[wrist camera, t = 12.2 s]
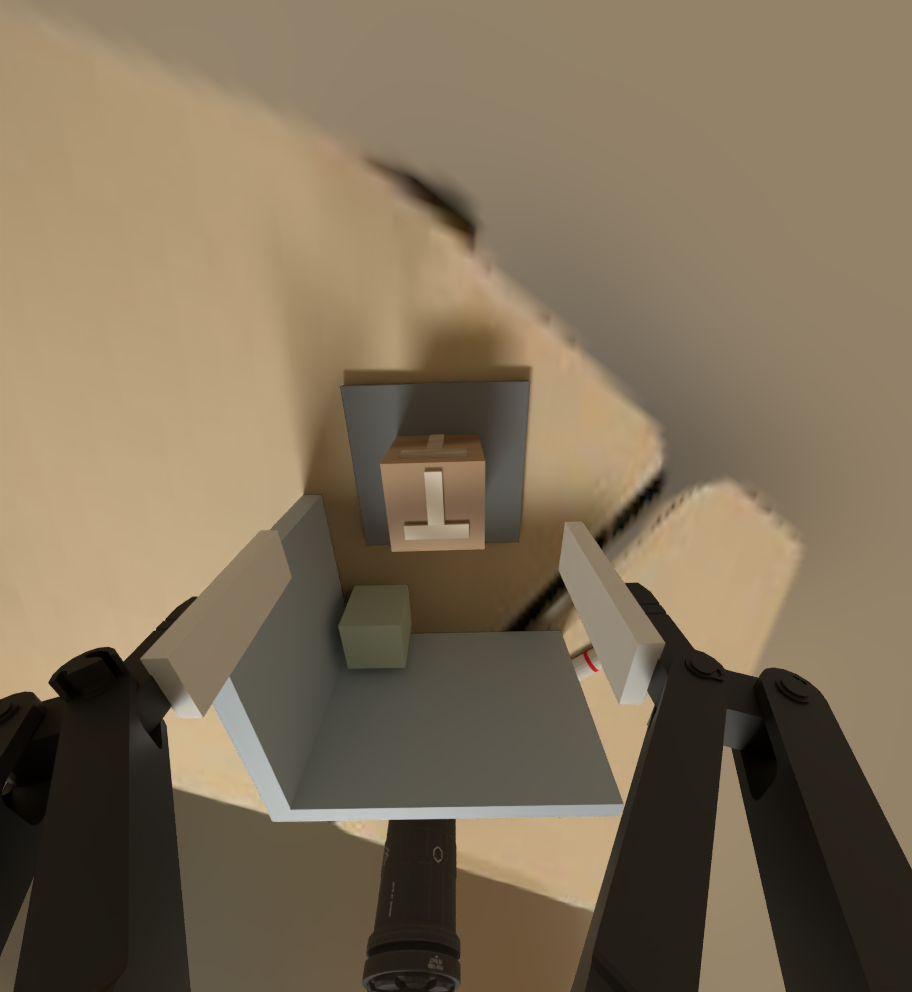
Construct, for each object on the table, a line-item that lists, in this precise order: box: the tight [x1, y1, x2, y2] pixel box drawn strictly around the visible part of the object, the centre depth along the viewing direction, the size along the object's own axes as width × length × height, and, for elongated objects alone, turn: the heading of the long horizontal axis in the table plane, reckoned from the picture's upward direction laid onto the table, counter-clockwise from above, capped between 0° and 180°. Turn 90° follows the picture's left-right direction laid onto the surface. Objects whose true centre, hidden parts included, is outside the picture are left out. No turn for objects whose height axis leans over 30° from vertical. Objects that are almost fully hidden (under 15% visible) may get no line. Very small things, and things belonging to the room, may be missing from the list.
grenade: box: [362, 819, 460, 992], centre depth 37 cm, size 9×11×20 cm
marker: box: [572, 648, 602, 681], centre depth 36 cm, size 15×2×2 cm, turn 132°
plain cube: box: [338, 585, 412, 669], centre depth 30 cm, size 5×5×5 cm
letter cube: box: [380, 434, 485, 552], centre depth 23 cm, size 6×6×6 cm
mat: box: [340, 380, 529, 546], centre depth 26 cm, size 13×13×1 cm
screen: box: [212, 495, 624, 822], centre depth 25 cm, size 17×23×14 cm
